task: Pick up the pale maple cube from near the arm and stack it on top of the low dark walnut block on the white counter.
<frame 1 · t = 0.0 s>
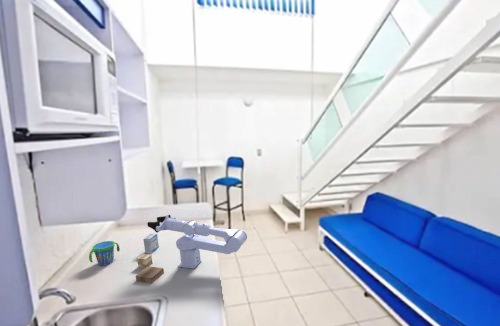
hand: (152, 221, 151), 22 cm above the worktop, tool horizontal, fingers open, 7 cm apart
snack cup: (106, 262, 155), on the worktop
medicine box: (152, 250, 167), on the worktop
walnut block: (150, 277, 138), on the worktop
maple cube: (145, 265, 149), on the worktop
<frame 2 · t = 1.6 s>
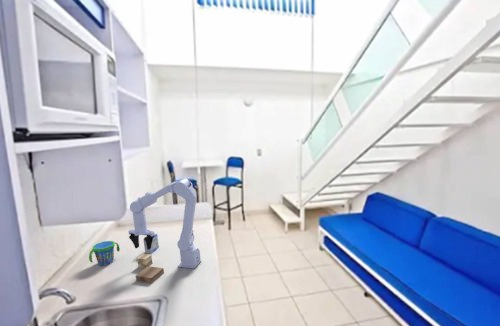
hand: (143, 248, 148), 9 cm above the worktop, tool pointing down, fingers open, 7 cm apart
nothing on the worktop moved.
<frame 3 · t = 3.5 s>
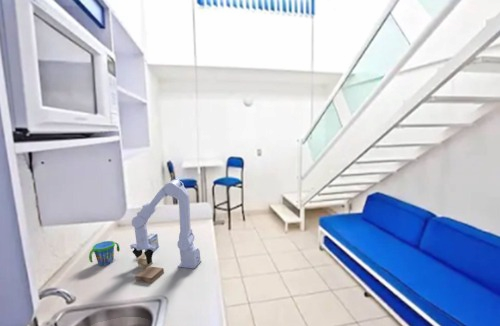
hand: (145, 262, 149), 2 cm above the worktop, tool pointing down, fingers closed on maple cube, 5 cm apart
maple cube: (145, 265, 149), on the worktop, touching gripper
everything else where it was.
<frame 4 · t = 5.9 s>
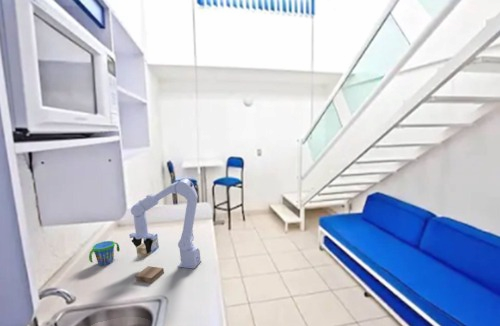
hand: (144, 251, 146), 8 cm above the worktop, tool pointing down, fingers closed on maple cube, 5 cm apart
maple cube: (144, 254, 146), point 7 cm above the worktop, touching gripper
everything else where it was.
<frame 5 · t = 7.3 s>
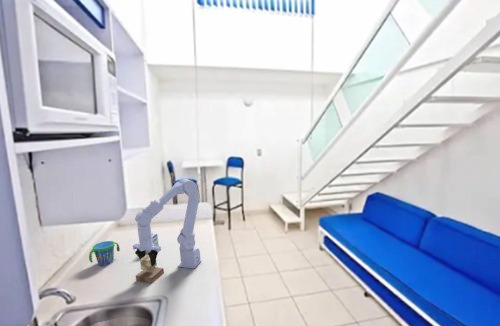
hand: (148, 264, 137), 6 cm above the worktop, tool pointing down, fingers closed on maple cube, 5 cm apart
maple cube: (149, 267, 137), point 5 cm above the worktop, touching gripper
everything else where it was.
when the fingers open (6 cm above the worktop, at t = 8.3 s): maple cube drops 2 cm, resting on walnut block.
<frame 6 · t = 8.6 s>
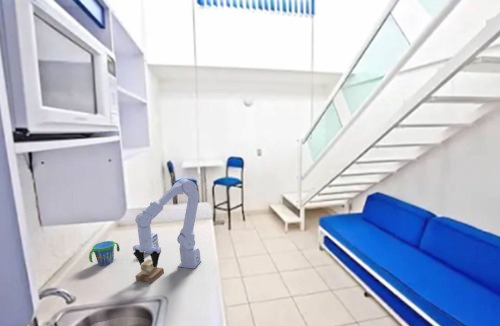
hand: (148, 265, 137), 6 cm above the worktop, tool pointing down, fingers open, 7 cm apart
walnut block: (150, 277, 138), on the worktop, touching maple cube
maple cube: (149, 272, 137), point 3 cm above the worktop, touching walnut block
everything else where it was.
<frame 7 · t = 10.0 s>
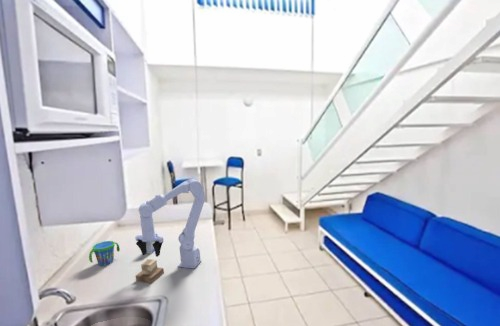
hand: (151, 255, 140), 9 cm above the worktop, tool pointing down, fingers open, 7 cm apart
nothing on the worktop moved.
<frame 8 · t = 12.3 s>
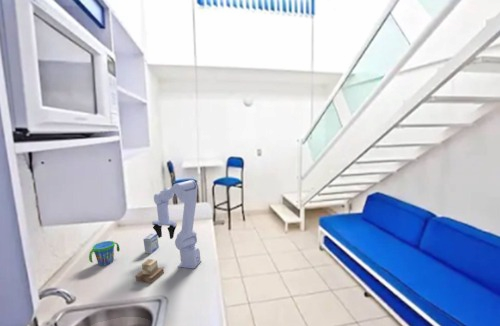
hand: (165, 237, 160), 9 cm above the worktop, tool pointing down, fingers open, 7 cm apart
walnut block: (150, 277, 138), on the worktop
maple cube: (150, 271, 137), point 3 cm above the worktop
everything else where it was.
at the end: maple cube 0.5 cm off-centre on the walnut block, point 3.0 cm above the walnut block's base; maple cube tilted 0°; the gripper is holding nothing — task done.
